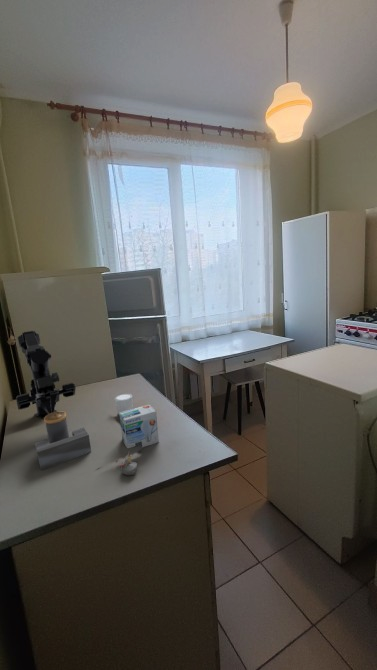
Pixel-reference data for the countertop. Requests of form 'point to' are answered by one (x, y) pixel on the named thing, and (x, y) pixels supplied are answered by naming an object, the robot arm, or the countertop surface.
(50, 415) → the gray cup
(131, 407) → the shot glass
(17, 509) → the countertop surface
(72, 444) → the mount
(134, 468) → the figurine
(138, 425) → the light bulb box
